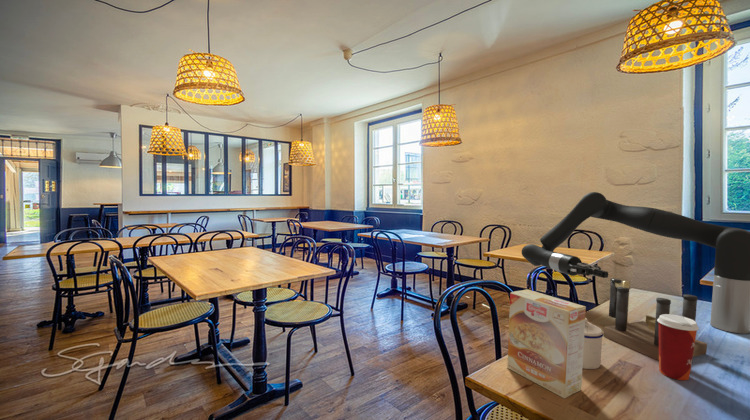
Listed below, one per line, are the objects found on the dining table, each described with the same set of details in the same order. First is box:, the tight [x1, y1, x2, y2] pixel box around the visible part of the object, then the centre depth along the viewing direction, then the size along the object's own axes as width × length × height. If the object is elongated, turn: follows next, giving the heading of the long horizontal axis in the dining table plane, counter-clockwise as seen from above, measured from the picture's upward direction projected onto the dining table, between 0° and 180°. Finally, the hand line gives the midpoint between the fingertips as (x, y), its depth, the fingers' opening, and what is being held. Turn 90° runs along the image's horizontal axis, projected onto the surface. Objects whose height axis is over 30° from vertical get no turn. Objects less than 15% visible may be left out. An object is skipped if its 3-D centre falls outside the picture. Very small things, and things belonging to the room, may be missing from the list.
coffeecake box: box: [506, 288, 587, 399], centre depth 81 cm, size 15×7×20 cm, turn 31°
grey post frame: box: [608, 278, 631, 321], centre depth 110 cm, size 10×3×14 cm, turn 163°
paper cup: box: [657, 313, 700, 381], centre depth 84 cm, size 8×8×14 cm
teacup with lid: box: [582, 317, 604, 370], centre depth 91 cm, size 12×9×12 cm
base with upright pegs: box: [603, 287, 708, 361], centre depth 101 cm, size 17×17×16 cm
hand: (606, 275), depth 118 cm, fingers closed
